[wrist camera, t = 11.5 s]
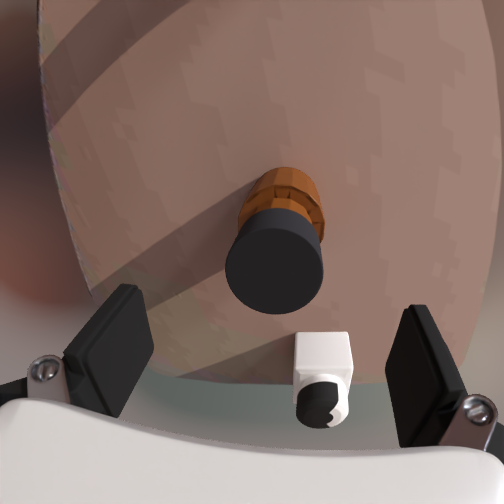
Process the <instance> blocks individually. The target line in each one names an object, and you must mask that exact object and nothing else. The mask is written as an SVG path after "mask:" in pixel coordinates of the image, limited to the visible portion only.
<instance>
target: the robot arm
mask: <svg viewBox="0 0 504 504" xmlns="http://www.w3.org/2000/svg"><path fill="white" fill-rule="evenodd" d="M153 350H154V344H153V339H152V335H151V331H150V327H149V322H148V318H147V313H146V309H145V304H144V299H143V294H142V291H141V290H140V289H138V287H137V286H136V285H131V284H120V285H119V286H118V288H117V289H116V290H115V291H114V292H113V293H112V294H111V295H110V297H109V298H108V299H107V300H106V301H105V302H104V303H103V305H102V306H101V307H100V308H99V309H98V310H97V312H96V313H95V314H94V315H93V316H92V317H91V319H90V320H89V321H88V322H87V324H86V325H85V326H84V327H83V328H82V330H81V331H80V332H79V333H78V334H77V336H76V337H75V338H74V339H73V341H72V342H71V343H70V344H69V345H68V347H67V348H66V349H65V350H64V352H63V353H64V356H63V358H62V359H60V358H59V357H57V356H55V355H45V356H42V357H39V358H37V359H36V360H34V361H33V362H32V364H30V366H29V368H28V371H27V377H25V378H22V379H19V380H16V381H13V382H10V383H6V384H3V385H0V504H504V426H503V425H502V424H500V423H498V422H497V419H498V411H497V408H496V406H495V404H494V403H493V402H492V401H491V400H490V399H489V398H487V397H486V396H483V395H480V394H472V395H468V393H467V391H466V389H465V386H464V383H463V381H462V379H461V377H460V374H459V371H458V369H457V367H456V365H455V362H454V360H453V358H452V356H451V353H450V351H449V349H448V347H447V345H446V343H445V342H444V340H443V338H442V336H441V334H440V332H439V330H438V328H437V326H436V324H435V322H434V320H433V318H432V316H431V314H430V312H429V310H428V308H427V306H426V305H412V304H411V305H410V306H409V307H408V309H404V311H403V314H402V317H401V321H400V324H399V327H398V330H397V333H396V336H395V339H394V342H393V345H392V348H391V351H390V354H389V357H388V359H387V362H386V366H385V374H386V378H387V383H388V388H389V392H390V397H391V402H392V407H393V412H394V418H395V423H396V428H397V434H398V440H399V445H400V447H401V448H398V449H382V450H381V449H380V450H346V451H345V450H340V451H338V450H335V451H334V450H331V451H330V450H326V451H325V450H300V449H284V448H271V447H261V446H251V445H243V444H235V443H227V442H220V441H214V440H209V439H203V438H197V437H192V436H187V435H182V434H177V433H172V432H168V431H163V430H159V429H154V428H150V427H146V426H142V425H139V424H135V423H131V422H127V421H124V420H121V419H117V418H118V417H119V415H120V414H121V412H122V410H123V408H124V406H125V404H126V402H127V400H128V398H129V396H130V394H131V393H132V391H133V389H134V387H135V385H136V383H137V381H138V379H139V378H140V376H141V374H142V372H143V370H144V368H145V366H146V365H147V363H148V361H149V359H150V357H151V355H152V353H153Z"/></svg>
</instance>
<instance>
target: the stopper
mask: <svg viewBox="0 0 504 504" xmlns="http://www.w3.org/2000/svg"><path fill="white" fill-rule="evenodd" d="M225 272H226V278H227V282H228V284H229V287H230V289H231V290H232V292H233V293H234V295H235V296H236V297H237V298H238V299H239V300H240V301H241V302H242V303H243V304H245V305H246V306H248V307H249V308H251V309H254V310H256V311H259V312H262V313H266V314H286V313H290V312H293V311H296V310H298V309H300V308H302V307H304V306H305V305H307V304H308V303H309V302H310V301H311V300H312V299H313V298H314V297H315V295H316V294H317V293H318V291H319V289H320V287H321V284H322V280H323V262H322V255H321V248H320V241H319V237H318V234H317V232H316V230H315V228H314V227H313V225H312V224H311V223H310V222H309V221H308V220H307V219H306V218H305V217H304V216H302V215H301V214H299V213H297V212H295V211H292V210H289V209H284V208H270V209H265V210H262V211H260V212H257V213H256V214H254V215H252V216H251V217H250V218H249V219H248V220H247V221H246V222H245V223H244V224H243V226H242V227H241V229H240V231H239V233H238V235H237V237H236V239H235V241H234V243H233V245H232V247H231V249H230V251H229V253H228V256H227V259H226V264H225Z"/></svg>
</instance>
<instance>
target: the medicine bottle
mask: <svg viewBox="0 0 504 504" xmlns="http://www.w3.org/2000/svg"><path fill="white" fill-rule="evenodd" d="M352 372H353V362H352V355H351V349H350V343H349V337H348V333H347V332H297V333H296V334H295V350H294V370H293V403H294V404H297V407H296V416H297V418H298V420H299V421H300V422H301V423H302V424H304V425H306V426H308V427H311V428H329V427H332V426H335V425H337V424H339V423H340V422H342V421H343V420H344V419H345V418H346V416H347V415H348V400H347V397H348V392H349V387H350V382H351V377H352Z"/></svg>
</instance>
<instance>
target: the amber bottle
mask: <svg viewBox="0 0 504 504" xmlns="http://www.w3.org/2000/svg"><path fill="white" fill-rule="evenodd" d="M270 208H284V209H289V210H292V211H295V212H297V213H299V214H301V215H302V216H304V217H305V218H306V219H307V220H308V221H309V222H310V223H311V224H312V225H313V227H314V228H315V230H316V232H317V234H318V237H319V241H320V243H321V242H322V240H323V237H324V228H325V219H324V215H323V211H322V207H321V203H320V199H319V195H318V192H317V189H316V187H315V184H314V183H313V181H312V180H311V179H310V178H309V177H308V176H307V175H306V174H305V173H303V172H301V171H300V170H297V169H294V168H289V167H280V168H276V169H273V170H270V171H268V172H266V173H265V174H264V175H263V176H262V177H261V178H260V179H259V180H258V181H257V182H256V184H255V186H254V187H253V189H252V191H251V192H250V194H249V196H248V197H247V199H246V201H245V202H244V204H243V207H242V209H241V211H240V214H239V216H238V233H239V231H240V229H241V227H242V226H243V224H244V223H245V222H246V221H247V220H248V219H249V218H250V217H251V216H252V215H254V214H256V213H257V212H260V211H262V210H265V209H270Z"/></svg>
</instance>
